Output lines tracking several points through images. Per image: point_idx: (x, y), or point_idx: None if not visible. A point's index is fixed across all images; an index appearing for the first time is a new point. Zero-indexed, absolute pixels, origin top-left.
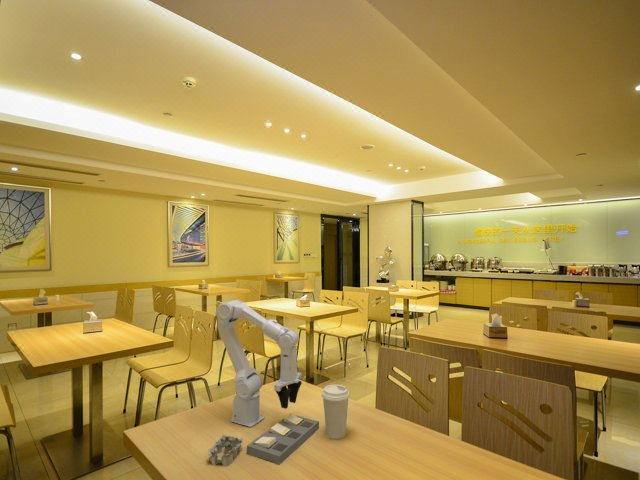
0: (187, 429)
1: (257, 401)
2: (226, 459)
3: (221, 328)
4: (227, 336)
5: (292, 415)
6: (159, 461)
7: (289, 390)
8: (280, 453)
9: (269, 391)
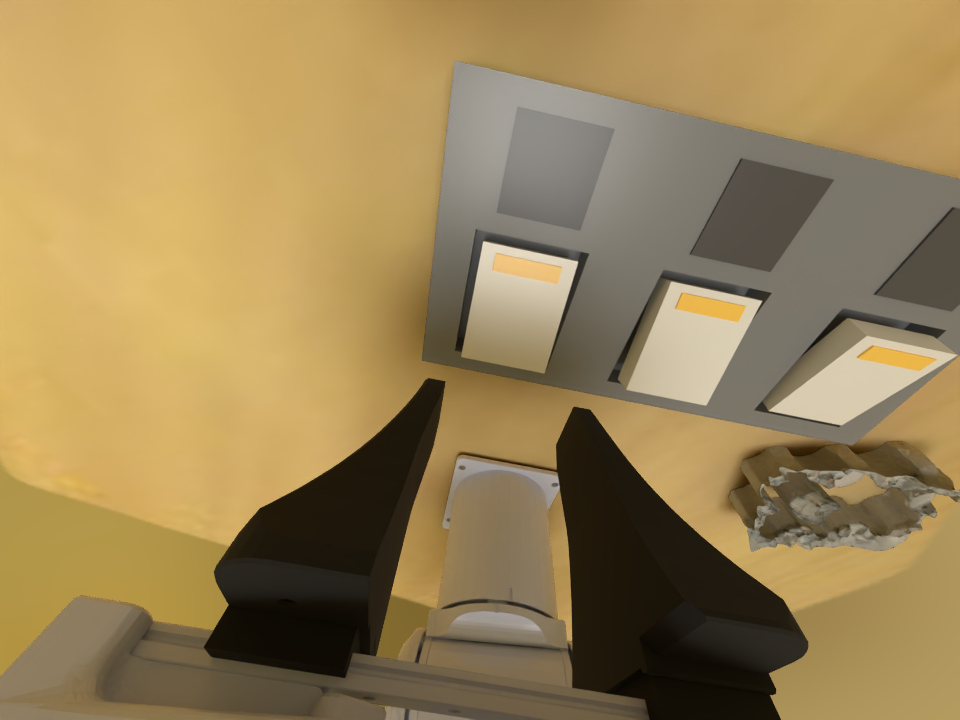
0: None
1: (509, 573)
2: (940, 473)
3: None
4: None
5: (476, 336)
6: (813, 596)
7: (760, 622)
8: None
9: (208, 506)
